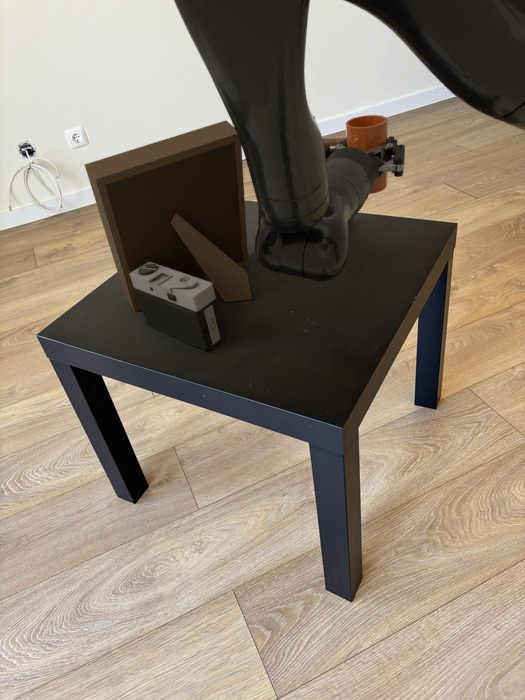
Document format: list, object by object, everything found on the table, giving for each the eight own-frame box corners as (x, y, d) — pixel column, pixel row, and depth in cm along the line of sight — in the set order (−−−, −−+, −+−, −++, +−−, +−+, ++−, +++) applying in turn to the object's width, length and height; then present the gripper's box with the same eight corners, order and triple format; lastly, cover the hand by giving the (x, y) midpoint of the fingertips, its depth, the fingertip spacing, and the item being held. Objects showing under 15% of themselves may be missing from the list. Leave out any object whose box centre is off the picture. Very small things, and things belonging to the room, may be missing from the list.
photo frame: (126, 301, 91) (74, 155, 75) (237, 256, 98) (209, 114, 82) (158, 342, 80) (104, 181, 65) (279, 288, 87) (256, 131, 72)
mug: (382, 194, 81) (382, 127, 75) (344, 194, 84) (341, 128, 77) (395, 168, 89) (396, 105, 82) (360, 168, 91) (358, 107, 85)
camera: (244, 324, 81) (232, 267, 74) (206, 354, 76) (190, 296, 70) (182, 300, 89) (167, 246, 82) (144, 326, 84) (125, 271, 78)
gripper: (396, 158, 66) (418, 116, 78) (287, 158, 71) (324, 119, 83) (395, 214, 71) (417, 166, 82) (293, 211, 76) (327, 166, 88)
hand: (370, 143), depth 83 cm, fingers closed on mug, 6 cm apart
